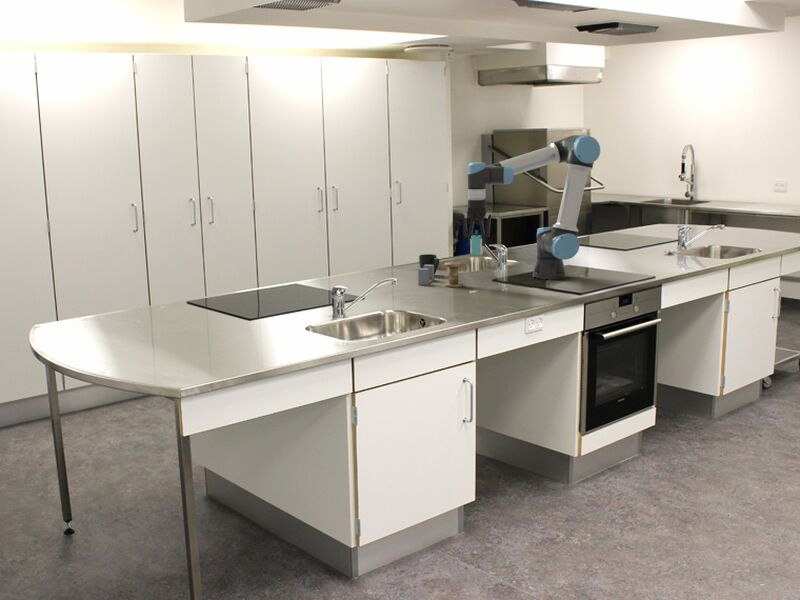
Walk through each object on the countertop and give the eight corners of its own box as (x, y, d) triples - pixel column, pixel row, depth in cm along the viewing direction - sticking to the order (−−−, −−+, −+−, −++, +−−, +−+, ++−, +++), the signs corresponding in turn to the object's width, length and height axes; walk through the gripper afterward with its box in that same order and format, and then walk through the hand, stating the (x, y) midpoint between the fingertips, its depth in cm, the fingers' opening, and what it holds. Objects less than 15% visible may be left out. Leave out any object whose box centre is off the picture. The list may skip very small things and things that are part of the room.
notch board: (434, 279, 401) (433, 264, 400) (427, 285, 388) (427, 269, 386) (425, 279, 402) (425, 264, 401) (418, 285, 389) (418, 269, 388)
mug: (430, 278, 404) (430, 258, 403) (415, 275, 414) (415, 255, 412) (445, 276, 409) (444, 256, 407) (430, 273, 419) (429, 253, 417)
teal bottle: (481, 253, 379) (481, 229, 377) (479, 254, 376) (479, 230, 374) (473, 253, 380) (473, 229, 378) (471, 254, 376) (471, 230, 374)
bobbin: (464, 284, 388) (464, 262, 386) (461, 287, 380) (460, 265, 378) (446, 284, 390) (446, 261, 388) (443, 287, 382) (442, 264, 380)
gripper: (497, 198, 374) (497, 252, 379) (459, 198, 379) (459, 251, 383) (494, 199, 367) (494, 255, 372) (455, 199, 372) (455, 254, 376)
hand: (476, 253), depth 378 cm, fingers closed on teal bottle, 3 cm apart
